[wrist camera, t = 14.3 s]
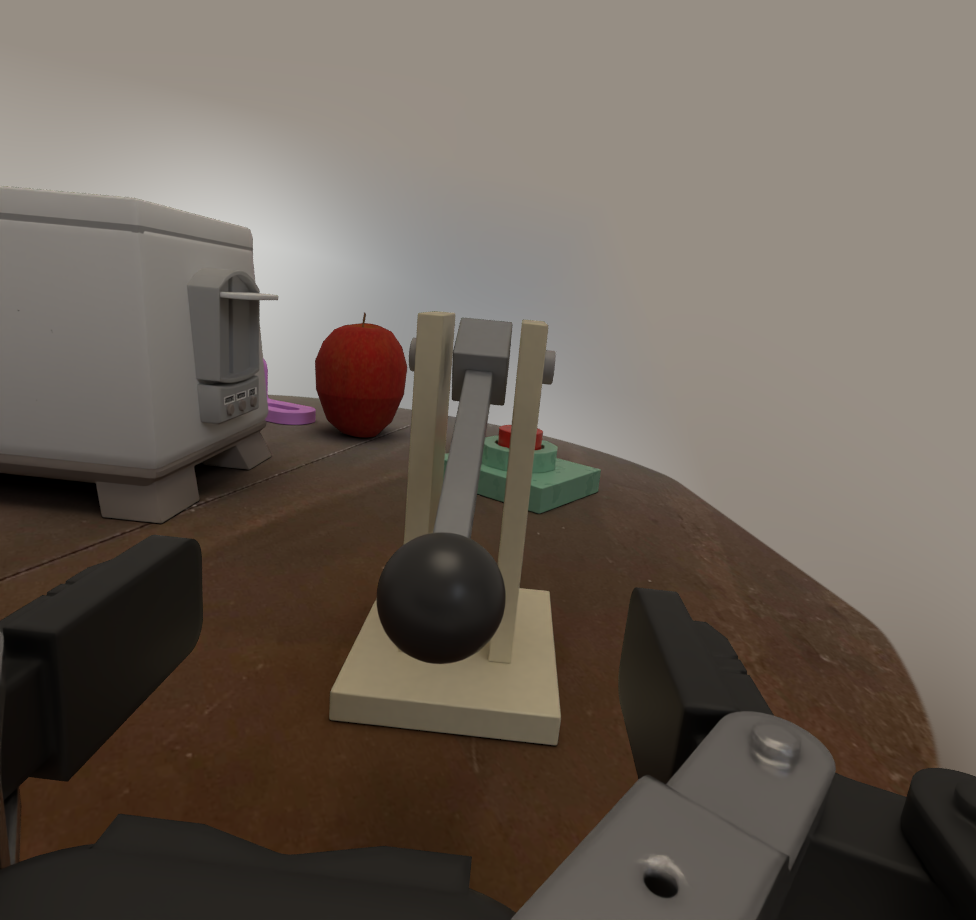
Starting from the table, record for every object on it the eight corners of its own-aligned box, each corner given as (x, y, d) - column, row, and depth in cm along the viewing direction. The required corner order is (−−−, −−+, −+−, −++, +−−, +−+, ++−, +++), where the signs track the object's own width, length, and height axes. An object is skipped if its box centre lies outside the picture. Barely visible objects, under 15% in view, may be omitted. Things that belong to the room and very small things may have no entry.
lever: (496, 695, 18) (505, 622, 15) (367, 681, 18) (357, 606, 15) (522, 381, 29) (530, 310, 26) (444, 373, 29) (444, 302, 27)
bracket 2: (557, 746, 25) (613, 334, 21) (328, 720, 25) (341, 308, 21) (546, 612, 35) (582, 323, 31) (386, 595, 36) (402, 306, 32)
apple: (326, 422, 78) (329, 307, 75) (407, 429, 79) (414, 315, 75) (302, 440, 68) (305, 308, 65) (395, 448, 69) (403, 317, 65)
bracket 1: (212, 410, 79) (211, 354, 78) (245, 405, 84) (245, 352, 83) (294, 426, 74) (294, 367, 73) (324, 420, 79) (326, 364, 78)
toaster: (207, 528, 42) (200, 201, 37) (-283, 476, 44) (-353, 151, 38) (304, 459, 61) (308, 235, 56) (-41, 424, 62) (-67, 200, 57)
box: (598, 492, 59) (603, 450, 58) (539, 514, 52) (544, 466, 51) (496, 463, 66) (500, 426, 65) (431, 479, 59) (434, 436, 58)
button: (549, 449, 58) (551, 431, 58) (524, 455, 55) (526, 436, 55) (514, 441, 61) (516, 423, 60) (488, 446, 58) (490, 427, 57)
